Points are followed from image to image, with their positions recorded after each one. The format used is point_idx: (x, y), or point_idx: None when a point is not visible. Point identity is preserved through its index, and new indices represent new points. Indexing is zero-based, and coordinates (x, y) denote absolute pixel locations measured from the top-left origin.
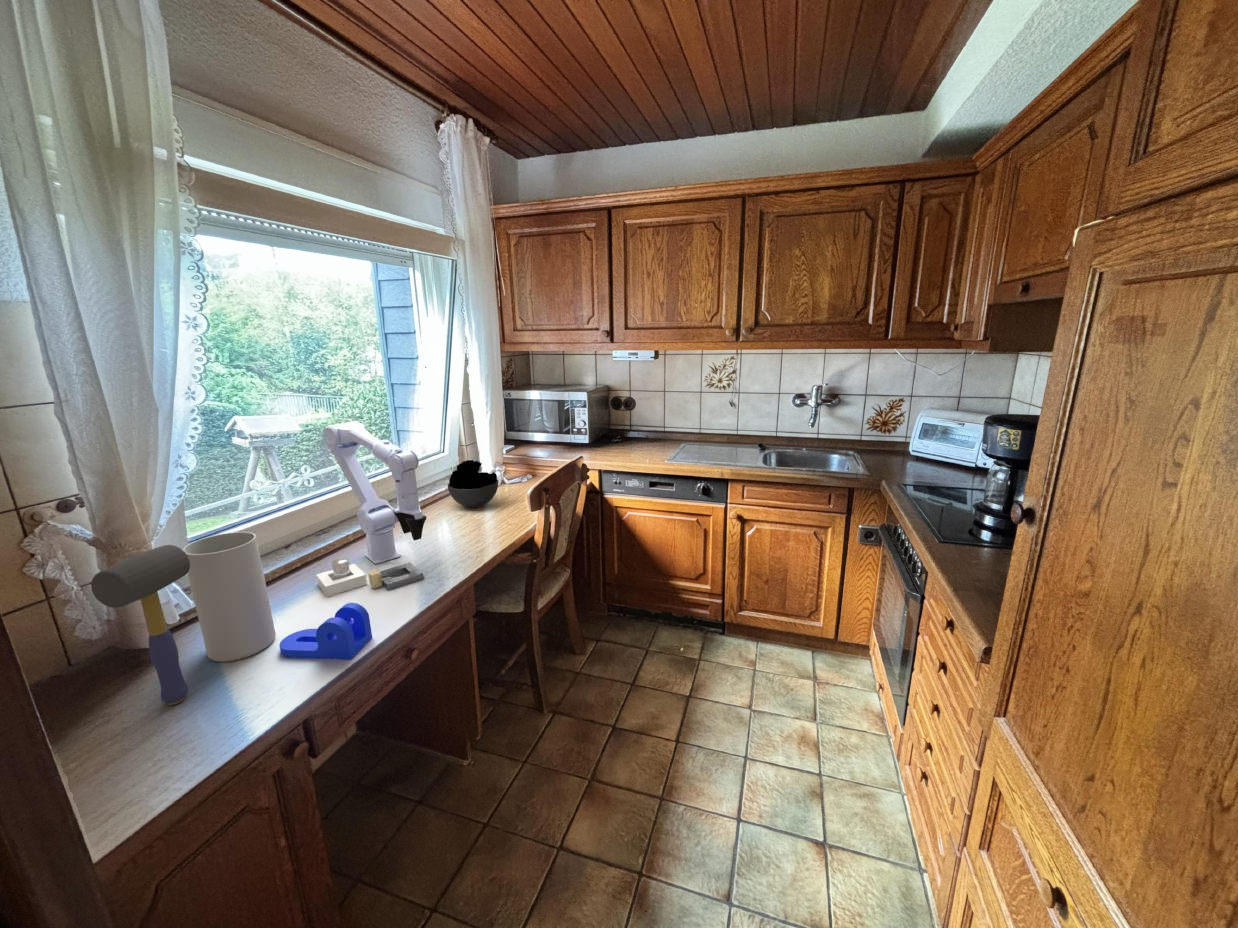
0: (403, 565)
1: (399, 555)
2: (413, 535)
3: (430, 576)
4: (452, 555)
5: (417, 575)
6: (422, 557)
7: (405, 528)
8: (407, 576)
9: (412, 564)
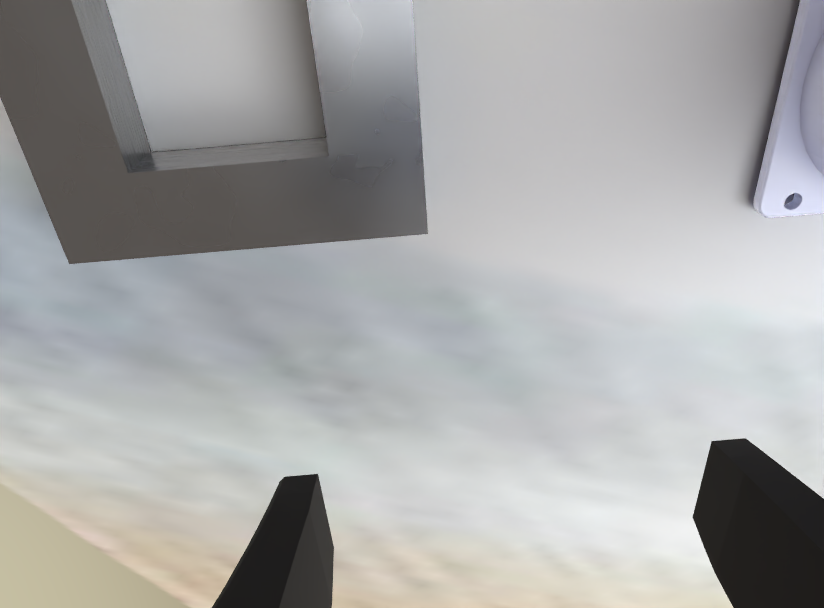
0: (388, 157)
1: (768, 204)
2: (248, 553)
3: (120, 290)
4: (435, 504)
5: (50, 202)
6: (574, 347)
7: (753, 530)
8: (45, 107)
9: (353, 238)
